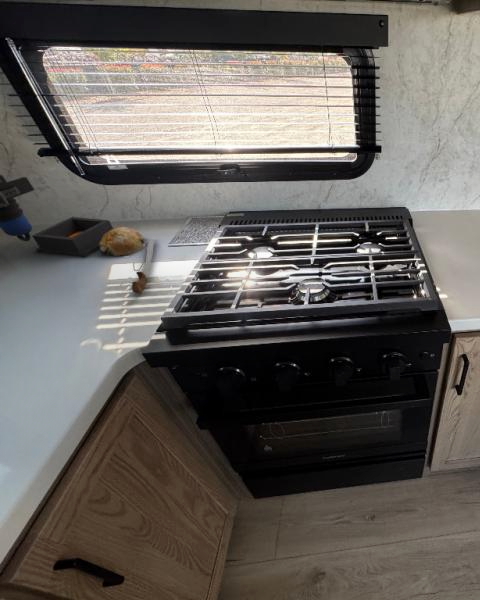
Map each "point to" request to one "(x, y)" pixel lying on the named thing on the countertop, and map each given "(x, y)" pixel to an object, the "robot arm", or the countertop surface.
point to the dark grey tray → (73, 237)
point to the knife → (143, 271)
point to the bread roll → (121, 241)
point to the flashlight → (14, 221)
